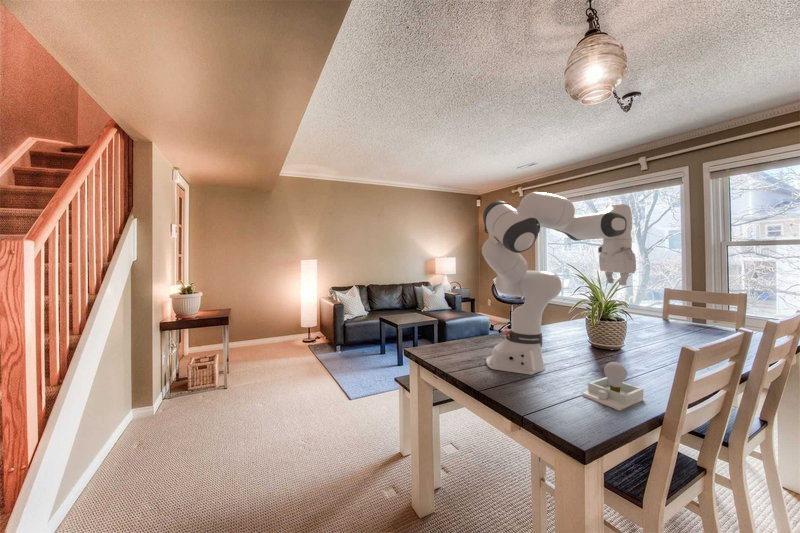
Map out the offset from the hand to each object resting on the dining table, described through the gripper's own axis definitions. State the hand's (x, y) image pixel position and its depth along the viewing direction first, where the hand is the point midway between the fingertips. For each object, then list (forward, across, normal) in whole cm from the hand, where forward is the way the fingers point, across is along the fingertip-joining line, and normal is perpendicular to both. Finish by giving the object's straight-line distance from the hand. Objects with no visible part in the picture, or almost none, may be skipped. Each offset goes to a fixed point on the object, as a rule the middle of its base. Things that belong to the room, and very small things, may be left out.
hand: (616, 284), depth 114 cm
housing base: (+34, -23, +11) cm, 43 cm away
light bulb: (+33, -22, +9) cm, 41 cm away
